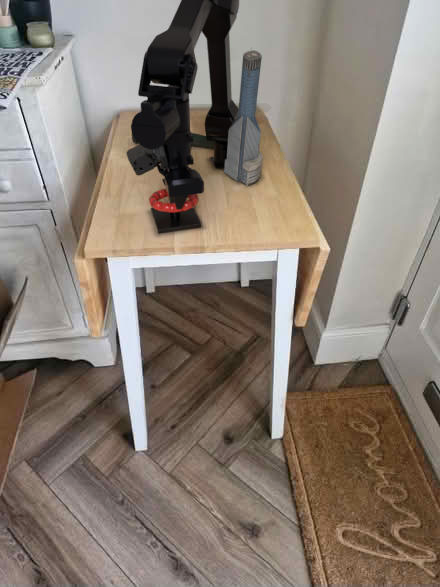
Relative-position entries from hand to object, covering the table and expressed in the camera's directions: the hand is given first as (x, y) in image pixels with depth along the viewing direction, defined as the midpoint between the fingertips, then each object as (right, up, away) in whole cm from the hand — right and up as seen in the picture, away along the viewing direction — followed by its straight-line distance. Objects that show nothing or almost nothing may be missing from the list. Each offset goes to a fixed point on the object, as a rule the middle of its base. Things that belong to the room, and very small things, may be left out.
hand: (178, 206), depth 84 cm
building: (+14, +12, +22) cm, 29 cm away
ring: (-1, +2, +3) cm, 4 cm away
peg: (-1, -2, +6) cm, 7 cm away
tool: (-2, +25, +37) cm, 45 cm away
